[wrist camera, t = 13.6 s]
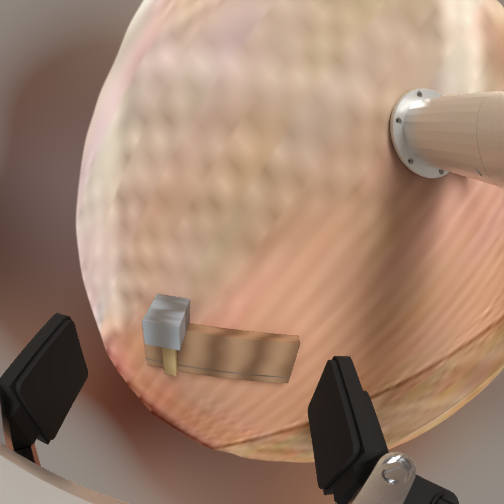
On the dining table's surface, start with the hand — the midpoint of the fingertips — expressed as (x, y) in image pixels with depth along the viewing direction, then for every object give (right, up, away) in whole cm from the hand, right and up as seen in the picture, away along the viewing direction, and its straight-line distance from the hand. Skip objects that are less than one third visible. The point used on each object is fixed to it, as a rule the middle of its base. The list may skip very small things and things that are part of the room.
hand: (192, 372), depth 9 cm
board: (-3, -12, +35) cm, 37 cm away
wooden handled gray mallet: (-10, -8, +34) cm, 36 cm away
